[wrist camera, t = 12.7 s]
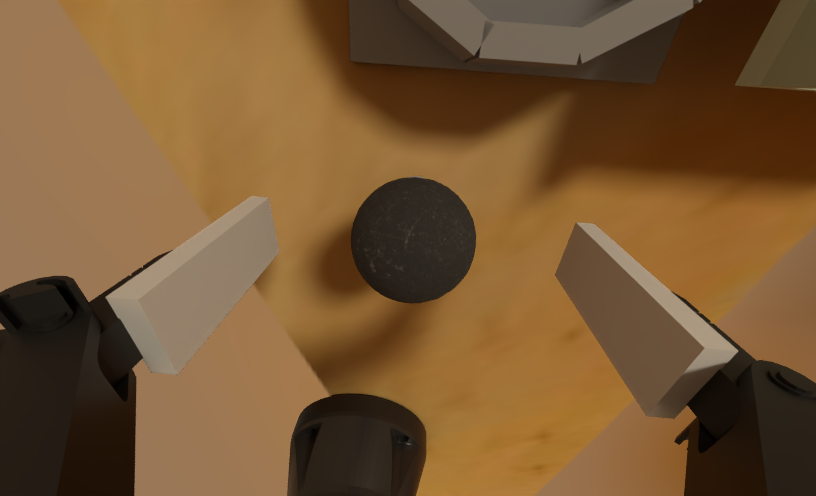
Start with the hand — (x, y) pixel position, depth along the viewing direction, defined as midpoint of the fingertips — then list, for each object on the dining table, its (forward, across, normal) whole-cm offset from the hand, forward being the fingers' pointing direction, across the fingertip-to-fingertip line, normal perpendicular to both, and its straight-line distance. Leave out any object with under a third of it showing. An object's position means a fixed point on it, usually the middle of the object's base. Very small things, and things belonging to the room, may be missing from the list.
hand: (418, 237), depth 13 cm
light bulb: (+8, 0, 0) cm, 8 cm away
